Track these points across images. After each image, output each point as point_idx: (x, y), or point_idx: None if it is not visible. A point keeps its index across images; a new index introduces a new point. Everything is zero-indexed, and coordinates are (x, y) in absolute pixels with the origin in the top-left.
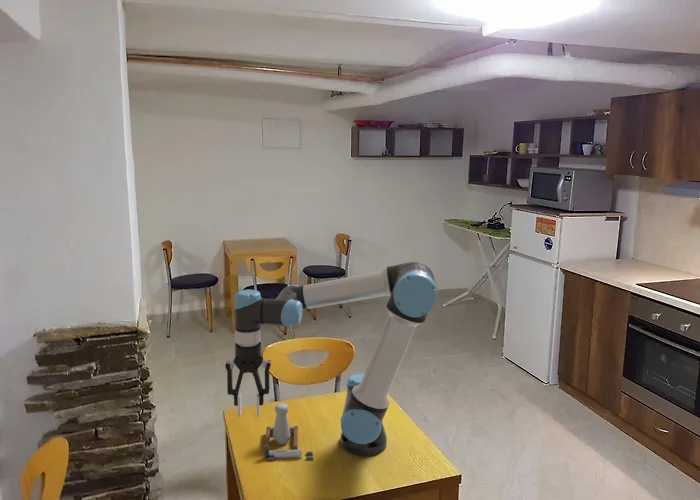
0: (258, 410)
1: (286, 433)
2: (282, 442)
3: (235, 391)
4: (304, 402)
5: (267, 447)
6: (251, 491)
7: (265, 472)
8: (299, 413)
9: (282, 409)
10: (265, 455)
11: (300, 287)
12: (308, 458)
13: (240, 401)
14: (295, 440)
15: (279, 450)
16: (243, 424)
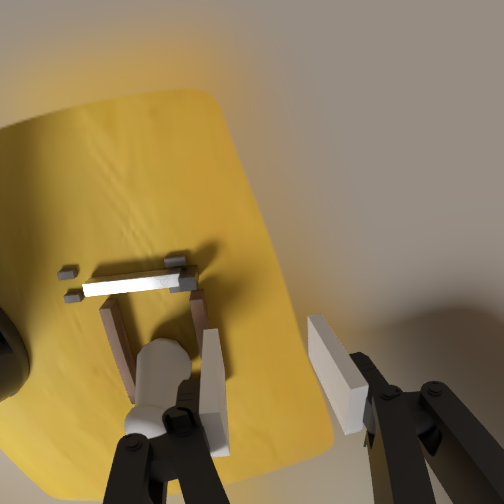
0: (207, 350)
1: (141, 359)
2: (156, 339)
3: (401, 412)
4: None
5: (184, 284)
6: (204, 99)
7: (178, 195)
8: None
9: (137, 417)
10: (192, 269)
11: None
12: (68, 270)
13: (335, 377)
14: (113, 338)
15: (148, 287)
16: (293, 412)
